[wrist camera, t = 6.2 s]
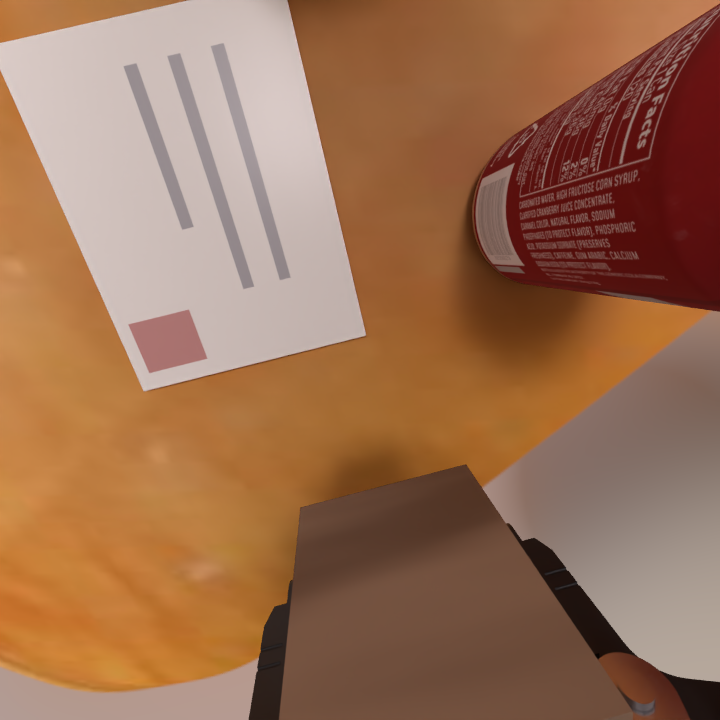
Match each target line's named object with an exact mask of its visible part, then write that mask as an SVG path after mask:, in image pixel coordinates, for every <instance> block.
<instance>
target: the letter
mask: <svg viewBox="0 0 720 720" xmlns="http://www.w3.org/2000/svg"><path fill="white" fill-rule="evenodd" d="M0 70H1V73H2V75H3V77H4V79H5V81H6V84H7V86H8V88H9V90H10V93H11V95H12V97H13V99H14V102H15V104H16V106H17V108H18V111H19V113H20V115H21V117H22V120H23V122H24V124H25V126H26V128H27V131H28V133H29V135H30V137H31V140H32V142H33V144H34V146H35V149H36V151H37V153H38V155H39V158H40V160H41V162H42V164H43V167H44V169H45V171H46V173H47V176H48V178H49V180H50V182H51V184H52V187H53V189H54V191H55V193H56V196H57V198H58V200H59V202H60V205H61V207H62V209H63V211H64V214H65V216H66V218H67V220H68V223H69V225H70V227H71V229H72V231H73V234H74V236H75V238H76V240H77V243H78V245H79V247H80V249H81V252H82V254H83V256H84V258H85V261H86V263H87V265H88V267H89V270H90V272H91V274H92V276H93V279H94V281H95V283H96V285H97V287H98V290H99V292H100V294H101V296H102V299H103V301H104V303H105V305H106V308H107V310H108V312H109V314H110V317H111V319H112V321H113V323H114V326H115V328H116V330H117V332H118V334H119V337H120V339H121V341H122V343H123V346H124V348H125V350H126V352H127V355H128V357H129V359H130V361H131V364H132V366H133V368H134V370H135V373H136V375H137V377H138V379H139V382H140V384H141V386H142V388H143V390H144V391H147V390H151V389H155V388H159V387H163V386H167V385H171V384H175V383H179V382H183V381H187V380H191V379H195V378H199V377H203V376H207V375H211V374H215V373H219V372H223V371H227V370H231V369H235V368H239V367H243V366H247V365H251V364H255V363H259V362H263V361H267V360H271V359H275V358H279V357H283V356H287V355H291V354H295V353H299V352H303V351H307V350H311V349H315V348H319V347H323V346H327V345H331V344H335V343H339V342H343V341H347V340H351V339H355V338H359V337H363V336H366V333H365V328H364V324H363V320H362V316H361V311H360V307H359V303H358V299H357V294H356V290H355V286H354V282H353V277H352V273H351V269H350V265H349V260H348V256H347V252H346V248H345V243H344V239H343V235H342V231H341V226H340V222H339V218H338V214H337V209H336V205H335V201H334V197H333V192H332V188H331V184H330V180H329V175H328V171H327V167H326V162H325V158H324V154H323V150H322V145H321V141H320V137H319V133H318V128H317V124H316V120H315V116H314V111H313V107H312V103H311V99H310V94H309V90H308V86H307V82H306V77H305V73H304V69H303V65H302V60H301V56H300V52H299V48H298V43H297V39H296V35H295V31H294V26H293V22H292V18H291V14H290V9H289V5H288V1H287V0H188V1H183V2H179V3H175V4H170V5H166V6H161V7H157V8H153V9H148V10H144V11H140V12H135V13H131V14H126V15H122V16H118V17H113V18H109V19H104V20H100V21H96V22H91V23H87V24H82V25H78V26H74V27H69V28H65V29H61V30H56V31H52V32H47V33H43V34H39V35H34V36H30V37H25V38H21V39H17V40H12V41H8V42H3V43H0Z"/></svg>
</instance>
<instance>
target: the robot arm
mask: <svg viewBox="0 0 720 720" xmlns="http://www.w3.org/2000/svg"><path fill="white" fill-rule="evenodd" d="M507 526H508V527H509V529H510V530H511V532H512V533H513V535H514V536H515V538H516V539H517V541H518V542H519V544H520V545H521V547H522V548H523V550H524V551H525V553H526V554H527V556H528V557H529V559H530V560H531V561H532V563H533V564H534V566H535V567H536V569H537V570H538V572H539V573H540V575H541V576H542V578H543V579H544V581H545V582H546V584H547V585H548V587H549V588H550V590H551V591H552V593H553V594H554V596H555V597H556V598H557V600H558V601H559V603H560V604H561V606H562V607H563V609H564V610H565V612H566V613H567V615H568V616H569V618H570V619H571V621H572V622H573V624H574V625H575V627H576V628H577V630H578V631H579V633H580V634H581V635H582V637H583V638H584V640H585V641H586V643H587V644H588V646H589V647H590V649H591V650H592V652H593V653H594V655H595V656H596V658H597V659H598V661H599V662H600V664H601V665H602V667H603V668H604V670H605V671H606V672H607V674H608V675H609V677H610V678H611V680H612V681H613V683H614V684H615V686H616V687H617V689H618V690H619V692H620V693H621V695H622V696H623V698H624V699H625V701H626V702H627V704H628V705H629V706H630V708H631V709H632V711H633V720H720V682H713V681H704V680H695V679H686V678H680V677H676V676H672V675H669V674H667V673H664V672H662V671H659V670H658V669H656V668H655V667H654V666H652V665H651V664H650V663H648V662H646V661H644V660H643V659H641V658H639V657H637V656H636V655H635V654H634V653H633V652H632V651H631V650H630V649H629V648H628V647H627V646H626V644H625V643H624V642H623V641H622V640H621V638H620V637H619V636H618V634H617V633H616V632H615V630H614V629H613V628H612V627H611V625H610V624H609V623H608V622H607V620H606V619H605V618H604V616H603V615H602V614H601V612H600V611H599V610H598V609H597V607H596V606H595V605H594V604H593V602H592V601H591V599H590V598H589V597H588V596H587V594H586V593H585V592H584V591H583V589H582V588H581V587H580V586H579V585H578V584H577V581H575V579H574V578H573V576H572V575H571V574H570V572H569V571H567V570H566V567H565V566H564V565H563V563H562V562H561V561H560V559H559V558H558V557H557V556H556V554H555V553H554V552H553V551H552V550H551V549H550V548H548V547H547V546H545V545H544V544H543V543H541V542H540V541H538V540H537V539H535V538H532V539H528V540H524V541H522V540H521V539H520V537H519V536H518V535H517V533H516V532H515V530H514V529H513V527H512V526H511V525H510V524H509V523H507ZM292 587H293V580H291V581H290V584H289V590H288V599H287V603H286V604H282V605H279V606H275V607H274V609H273V611H272V613H271V614H270V616H269V618H268V620H267V622H266V624H265V626H264V631H263V637H262V643H261V653H260V655H259V661H258V667H257V668H258V672H257V673H256V679H255V685H254V692H253V697H252V703H251V709H250V715H249V720H279V714H280V705H281V695H282V685H283V675H284V665H285V655H286V646H287V636H288V626H289V616H290V606H291V596H292Z"/></svg>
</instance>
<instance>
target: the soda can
mask: <svg viewBox="0 0 720 720" xmlns="http://www.w3.org/2000/svg"><path fill="white" fill-rule="evenodd" d="M472 222H473V230H474V234H475V238H476V241H477V244H478V247H479V249H480V251H481V253H482V254H483V256H484V258H485V259H486V260H487V262H488V263H489V264H490V265H491V266H492V267H493V268H494V269H495V270H496V271H497V272H498V273H500V274H501V275H503V276H504V277H506V278H508V279H510V280H513V281H515V282H519V283H522V284H529V285H536V286H543V287H550V288H557V289H564V290H571V291H578V292H585V293H592V294H599V295H606V296H613V297H620V298H627V299H634V300H642V301H649V302H656V303H663V304H670V305H677V306H684V307H691V308H698V309H705V310H712V311H720V4H719V5H717V6H715V7H714V8H712V9H711V10H709V11H708V12H706V13H704V14H703V15H701V16H700V17H698V18H697V19H695V20H693V21H692V22H690V23H689V24H687V25H686V26H684V27H683V28H681V29H679V30H678V31H676V32H675V33H673V34H672V35H670V36H668V37H667V38H665V39H664V40H662V41H661V42H659V43H658V44H656V45H654V46H653V47H651V48H650V49H648V50H647V51H645V52H643V53H642V54H640V55H639V56H637V57H636V58H634V59H632V60H631V61H629V62H628V63H626V64H625V65H623V66H622V67H620V68H618V69H617V70H615V71H614V72H612V73H611V74H609V75H607V76H606V77H604V78H603V79H601V80H600V81H598V82H597V83H595V84H593V85H592V86H590V87H589V88H587V89H586V90H584V91H582V92H581V93H579V94H578V95H576V96H575V97H573V98H571V99H570V100H568V101H567V102H565V103H564V104H562V105H561V106H559V107H557V108H556V109H554V110H553V111H551V112H550V113H548V114H546V115H545V116H543V117H542V118H540V119H539V120H537V121H535V122H534V123H532V124H531V125H529V126H528V127H526V128H525V129H523V130H521V131H520V132H518V133H517V134H515V135H514V136H512V137H511V138H510V139H508V140H507V141H506V142H505V143H504V144H503V145H502V146H501V147H500V148H499V149H498V150H497V151H496V152H495V153H494V154H493V156H492V157H491V159H490V160H489V161H488V163H487V165H486V166H485V168H484V170H483V172H482V174H481V176H480V179H479V181H478V184H477V187H476V190H475V194H474V199H473V207H472Z"/></svg>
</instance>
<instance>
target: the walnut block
mask: <svg viewBox="0 0 720 720" xmlns="http://www.w3.org/2000/svg"><path fill="white" fill-rule="evenodd" d="M279 720H633V711H632V709H631V708H630V706H629V705H628V704H627V702H626V701H625V699H624V698H623V696H622V695H621V693H620V692H619V690H618V689H617V687H616V686H615V684H614V683H613V681H612V680H611V678H610V677H609V675H608V674H607V672H606V671H605V670H604V668H603V667H602V665H601V664H600V662H599V661H598V659H597V658H596V656H595V655H594V653H593V652H592V650H591V649H590V647H589V646H588V644H587V643H586V641H585V640H584V638H583V637H582V635H581V634H580V633H579V631H578V630H577V628H576V627H575V625H574V624H573V622H572V621H571V619H570V618H569V616H568V615H567V613H566V612H565V610H564V609H563V607H562V606H561V604H560V603H559V601H558V600H557V598H556V597H555V596H554V594H553V593H552V591H551V590H550V588H549V587H548V585H547V584H546V582H545V581H544V579H543V578H542V576H541V575H540V573H539V572H538V570H537V569H536V567H535V566H534V564H533V563H532V561H531V560H530V559H529V557H528V556H527V554H526V553H525V551H524V550H523V548H522V547H521V545H520V544H519V542H518V541H517V539H516V538H515V536H514V535H513V533H512V532H511V530H510V529H509V527H508V526H507V524H506V523H505V522H504V520H503V519H502V517H501V516H500V514H499V513H498V511H497V510H496V508H495V507H494V505H493V504H492V502H491V501H490V499H489V498H488V496H487V495H486V493H485V492H484V490H483V489H482V487H481V486H480V485H479V483H478V482H477V480H476V479H475V477H474V476H473V474H472V473H471V471H470V470H469V468H468V467H467V465H466V464H465V465H462V466H458V467H454V468H450V469H446V470H442V471H439V472H435V473H431V474H427V475H423V476H420V477H416V478H412V479H408V480H404V481H400V482H397V483H393V484H389V485H385V486H381V487H377V488H374V489H370V490H366V491H362V492H358V493H354V494H351V495H347V496H343V497H339V498H335V499H332V500H328V501H324V502H320V503H316V504H312V505H309V506H305V507H301V508H300V518H299V528H298V537H297V547H296V557H295V567H294V577H293V587H292V596H291V606H290V616H289V626H288V636H287V646H286V655H285V665H284V675H283V685H282V695H281V705H280V714H279Z"/></svg>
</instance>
